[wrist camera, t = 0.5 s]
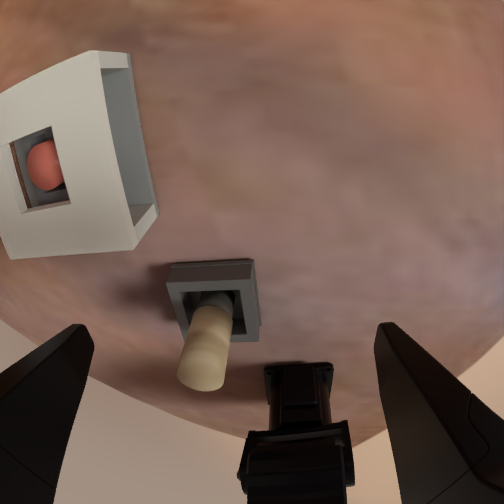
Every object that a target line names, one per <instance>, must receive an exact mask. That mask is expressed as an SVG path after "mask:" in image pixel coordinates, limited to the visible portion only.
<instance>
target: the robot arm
mask: <svg viewBox="0 0 504 504" xmlns="http://www.w3.org/2000/svg"><path fill="white" fill-rule="evenodd" d="M93 352H94V342H93V340H92V338H91V336H90V334H89V332H88V330H87V328H86V326H85V325H83V324H72V325H71V326H69V327H68V328H66V329H65V330H63V331H62V332H60V333H59V334H57V335H56V336H54V337H53V338H51V339H50V340H48V341H47V342H45V343H44V344H42V345H41V346H39V347H38V348H36V349H35V350H33V351H32V352H30V353H29V354H28V355H26V356H25V357H23V358H22V359H20V360H19V361H18V362H16V363H15V364H13V365H11V366H10V367H9V368H7V369H6V370H4V371H3V372H1V373H0V504H53V502H54V497H55V492H56V487H57V483H58V479H59V475H60V470H61V466H62V462H63V459H64V455H65V451H66V447H67V444H68V440H69V436H70V433H71V430H72V426H73V423H74V420H75V417H76V413H77V410H78V407H79V404H80V401H81V398H82V395H83V392H84V388H85V385H86V381H87V376H88V372H89V368H90V364H91V360H92V356H93ZM374 355H375V361H376V368H377V376H378V384H379V391H380V398H381V402H382V407H383V411H384V415H385V419H386V424H387V428H388V432H389V437H390V442H391V447H392V451H393V456H394V461H395V467H396V472H397V477H398V483H399V489H400V495H401V501H402V504H504V420H503V419H502V418H501V417H500V416H498V415H497V414H496V413H495V412H493V411H492V410H491V409H490V408H489V407H488V406H486V405H485V404H484V403H483V402H482V401H481V400H480V399H478V397H476V396H475V395H474V394H473V393H472V394H471V391H470V390H469V389H468V388H467V387H466V386H465V385H463V384H462V383H461V382H460V381H459V380H458V379H457V378H456V377H455V376H454V375H453V374H451V373H450V372H449V371H448V370H447V369H446V368H445V367H444V366H443V365H441V364H440V363H439V362H438V361H437V360H436V359H435V358H434V357H433V356H431V355H430V354H429V353H428V352H427V351H426V350H425V349H424V348H422V347H421V346H420V345H419V344H418V343H417V342H416V341H414V340H413V339H412V338H411V337H410V336H409V335H408V334H406V333H405V332H404V331H403V330H402V329H401V328H400V327H398V326H397V325H396V324H395V323H393V322H385V323H380V324H379V325H378V328H377V333H376V338H375V342H374ZM333 371H334V368H333V364H331V363H325V364H312V365H295V366H273V367H266V368H265V369H264V377H265V385H266V392H267V400H268V404H269V405H270V412H269V430H268V431H255V430H254V431H249V433H248V437H247V438H246V442H245V446H244V450H243V454H242V458H241V462H240V467H239V471H238V472H237V478H238V479H239V480H240V481H241V486H242V490H243V492H244V493H245V494H246V495H247V499H248V501H247V504H347V494H346V487H350V486H354V485H355V474H354V461H353V453H352V446H351V440H350V433H349V427H348V421H347V420H343V421H341V422H337V423H332V420H331V410H330V401H329V399H330V393H331V386H332V379H333Z"/></svg>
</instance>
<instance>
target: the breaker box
mask: <svg viewBox="0 0 504 504" xmlns="http://www.w3.org/2000/svg"><path fill="white" fill-rule="evenodd" d="M52 138H54V141H55V145H56V149H57V154H58V158H59V162H60V166H61V170H62V173H63V177H64V182H63V183H61V184H60V185H58V186H57V187H55V188H54V189H52V190H42V189H40V188H38V187H37V186H36V185H35V184H34V183H33V182H32V180H31V179H30V176H29V174H28V170H27V158H28V155H29V152H30V151H31V149H32V148H33V147H34V146H36V145H38V144H40V143H42V142H45V141H47V140H49V139H52ZM12 141H14V146H15V150H16V154H17V158H18V162H19V166H20V170H21V173H22V177H23V180H24V184H25V187H26V191H27V194H28V197H29V200H30V203H31V206H32V208H29V209H27V206H26V202H25V199H24V196H23V193H22V190H21V186H20V183H19V180H18V176H17V172H16V169H15V165H14V161H13V157H12V153H11V149H10V145H9V143H10V142H12ZM158 215H159V210H158V206H157V201H156V197H155V193H154V188H153V184H152V179H151V174H150V170H149V165H148V160H147V155H146V150H145V145H144V139H143V134H142V129H141V123H140V117H139V112H138V106H137V99H136V93H135V87H134V80H133V73H132V66H131V58H130V53H120V52H108V51H94V50H90V51H87V52H84V53H82V54H79V55H77V56H75V57H72V58H70V59H67V60H65V61H63V62H61V63H58V64H56V65H54V66H52V67H50V68H47V69H45V70H43V71H41V72H39V73H37V74H35V75H33V76H31V77H29V78H27V79H25V80H24V81H22V82H20V83H18V84H16V85H14V86H13V87H11V88H9V89H7V90H6V91H4V92H2V93H0V237H1V239H2V242H3V244H4V247H5V249H6V251H7V254H8V256H9V258H10V259H22V258H34V257H47V256H60V255H73V254H86V253H99V252H113V251H126V250H134V248H135V247H136V246H137V244H138V243H139V241H140V240H141V239H142V237H143V236H144V234H145V233H146V232H147V230H148V229H149V228H150V226H151V225H152V223H153V222H154V221H155V219H156V218H157V217H158Z"/></svg>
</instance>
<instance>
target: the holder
mask: <svg viewBox="0 0 504 504" xmlns="http://www.w3.org/2000/svg"><path fill="white" fill-rule="evenodd" d="M166 286H167V289H168V293H169V296H170V299H171V302H172V305H173V308H174V311H175V314H176V317H177V320H178V323H179V326H180V329H181V332H182V335H183V338H184V341H186V337H187V334H188V331H189V327H190V324H191V320H192V317H193V314H194V312H195V311H196V309H197V305H198V302H199V299H200V295H201V292H202V291H217V290H231V291H232V293H233V294H234V297H235V303H234V309H233V316H232V320H233V325H232V331H231V338H230V342H257V341H259V328H260V326H261V316H260V308H259V299H258V291H257V282H256V274H255V265H254V259H253V260H235V261H217V262H199V263H180V264H172V265H171V272H170V274H169V276H168V278H167V280H166Z"/></svg>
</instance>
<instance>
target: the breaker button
mask: <svg viewBox="0 0 504 504" xmlns="http://www.w3.org/2000/svg"><path fill="white" fill-rule="evenodd" d="M27 170H28V174H29V176H30V179H31V180H32V182H33V183H34V184H35V185H36V186H37V187H38V188H40V189H42V190H52V189H54V188H55V187H57V186H58V185H60V184H61V183H63V182H64V177H63V173H62V170H61V166H60V162H59V158H58V154H57V149H56V145H55V141H54V138H52V139H49V140H47V141H45V142H42V143H40V144H38V145H36V146H34V147H33V148H32V149H31V151H30V152H29V155H28V158H27Z"/></svg>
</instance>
